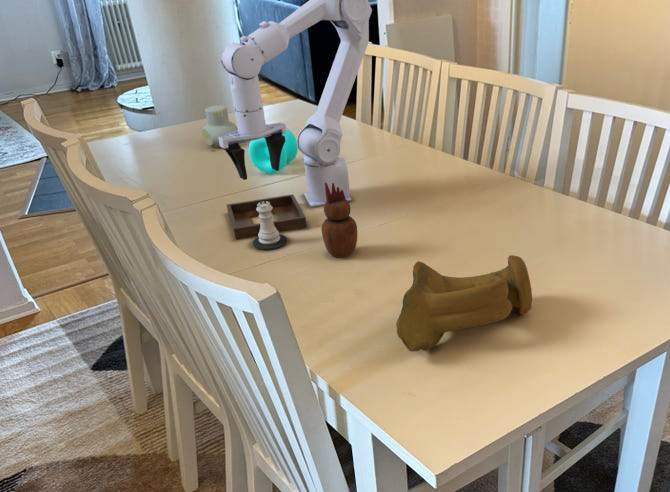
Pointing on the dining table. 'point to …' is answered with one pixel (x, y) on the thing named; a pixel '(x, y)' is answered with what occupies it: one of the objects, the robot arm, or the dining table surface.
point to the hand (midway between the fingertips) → (259, 173)
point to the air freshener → (216, 125)
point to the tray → (282, 208)
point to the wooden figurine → (338, 224)
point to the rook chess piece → (267, 225)
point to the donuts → (261, 153)
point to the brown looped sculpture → (459, 302)
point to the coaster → (270, 247)
